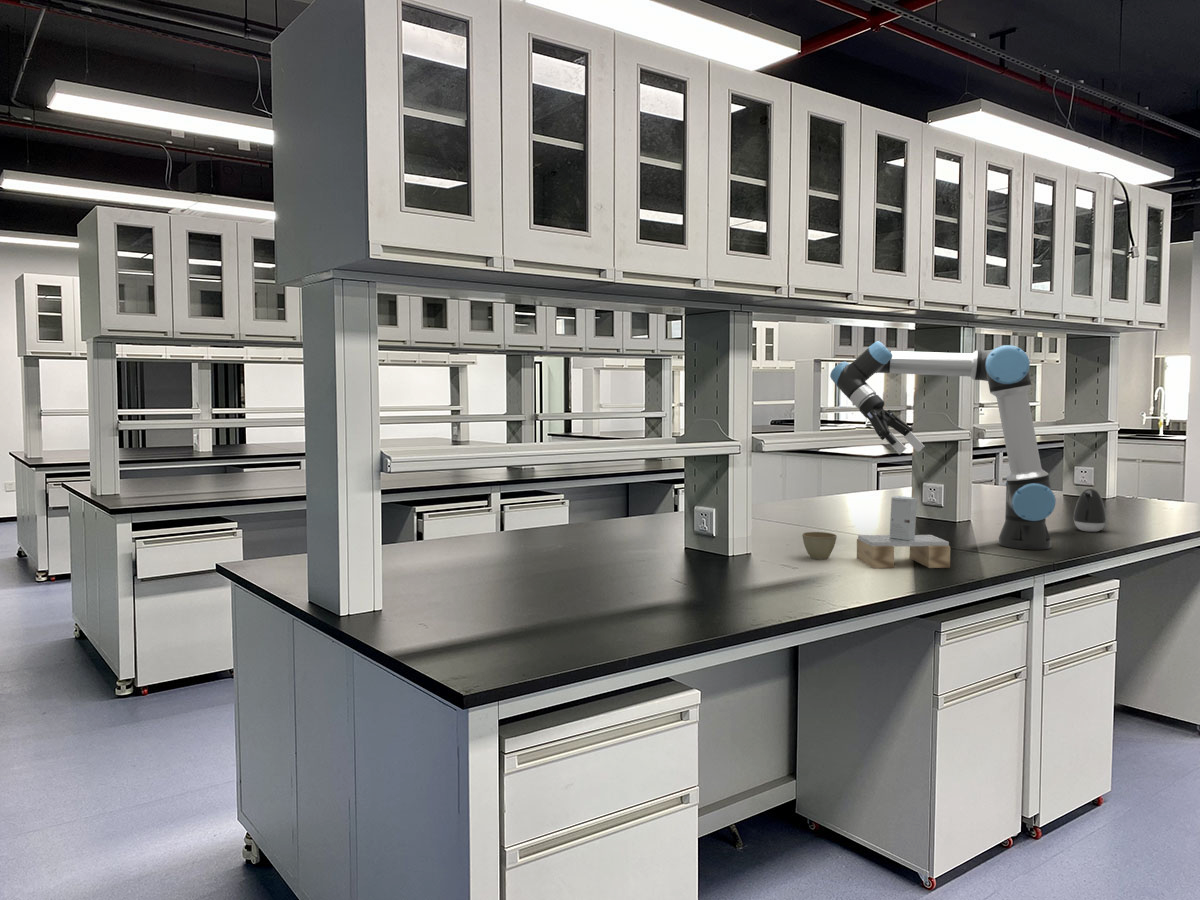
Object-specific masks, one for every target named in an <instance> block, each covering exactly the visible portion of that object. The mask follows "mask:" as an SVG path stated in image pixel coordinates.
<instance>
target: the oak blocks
mask: <svg viewBox="0 0 1200 900" xmlns="http://www.w3.org/2000/svg"><path fill="white" fill-rule="evenodd" d="M909 559H911V560H913V561H915V562H916V563H919V564H920V565H922V566H925V567H927V568H929V569H935V568H936V569H938V568H939V569H945V568H946V569H950V568H951V546H950V545H949V546H909ZM856 560H858V561H860V562H862V563H863V564H865V565H867V566H868V567H870V568H872V569H895V546H877V547H872V546H870V545H868V544H866V543H864V542H862V541H860V540H859V539H858V538H856Z"/></svg>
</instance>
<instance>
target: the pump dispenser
mask: <svg viewBox="0 0 1200 900" xmlns="http://www.w3.org/2000/svg"><path fill="white" fill-rule="evenodd" d="M1072 519H1073V522H1074V525H1075V527H1076V529H1078V530H1080V531H1082V532H1088V533H1089V532H1090V533H1096V532H1099V531H1101V530H1102V529H1103V528H1104V527H1105V524H1106V523H1107V515H1106V508H1105V506H1104V501H1103V498H1102V497H1101V494H1100V493H1099V491H1097V489H1094V488H1086V489H1085V490H1083V491H1082V493H1081V494H1080V495H1079V497H1078V499H1077V501H1076V505H1075V508H1074V512H1073V518H1072Z"/></svg>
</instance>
